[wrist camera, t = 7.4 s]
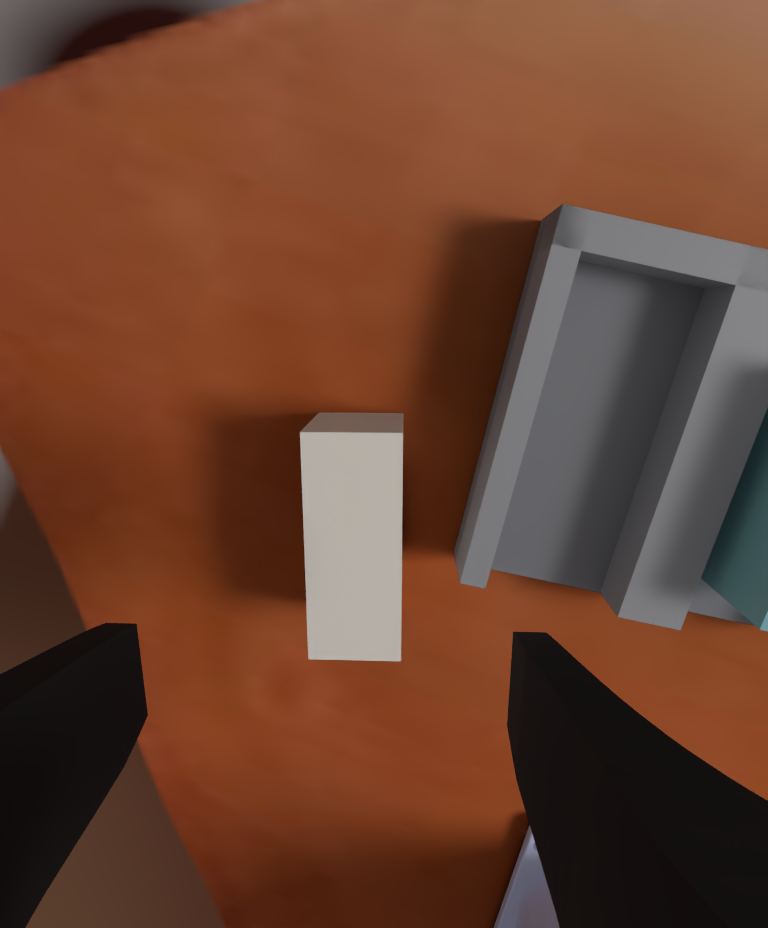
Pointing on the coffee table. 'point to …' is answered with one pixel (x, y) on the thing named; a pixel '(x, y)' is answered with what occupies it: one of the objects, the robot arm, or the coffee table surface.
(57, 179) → the coffee table surface
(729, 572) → the tall teal prism
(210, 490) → the coffee table surface
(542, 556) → the grey two-slot rack
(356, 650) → the tall white block
